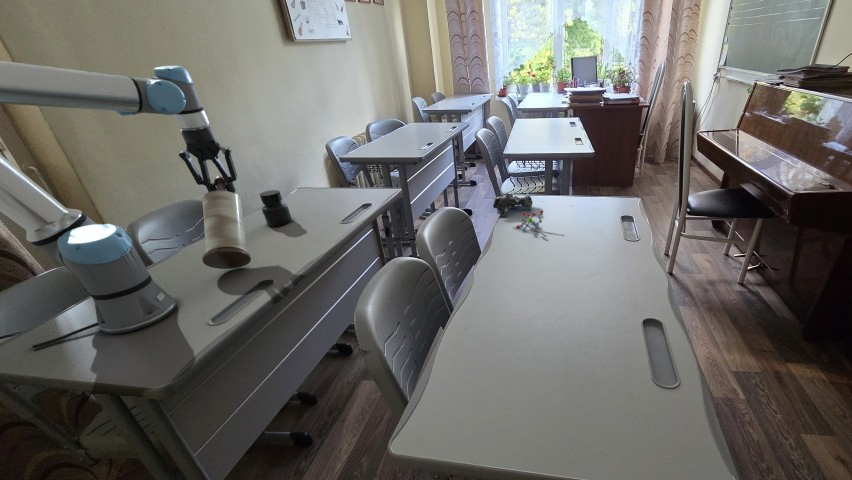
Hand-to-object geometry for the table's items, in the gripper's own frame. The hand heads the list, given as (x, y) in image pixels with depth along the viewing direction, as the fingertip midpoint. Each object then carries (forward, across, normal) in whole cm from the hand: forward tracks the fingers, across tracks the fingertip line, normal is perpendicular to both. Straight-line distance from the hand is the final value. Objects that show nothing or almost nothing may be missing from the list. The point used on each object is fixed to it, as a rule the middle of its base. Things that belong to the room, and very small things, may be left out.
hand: (227, 203), depth 128 cm
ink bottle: (+18, -9, -20) cm, 28 cm away
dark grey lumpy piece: (+14, -95, +10) cm, 97 cm away
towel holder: (+6, 0, +5) cm, 8 cm away
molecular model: (+12, -94, +28) cm, 99 cm away
